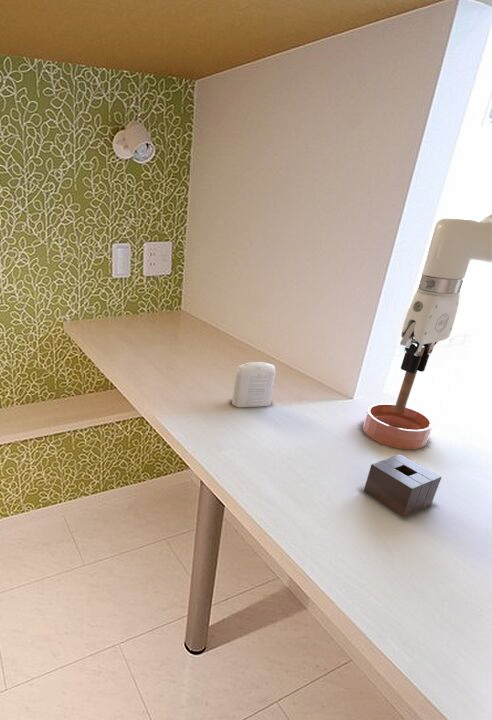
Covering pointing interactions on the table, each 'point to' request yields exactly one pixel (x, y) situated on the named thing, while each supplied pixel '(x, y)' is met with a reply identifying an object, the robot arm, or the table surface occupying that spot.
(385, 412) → the bowl
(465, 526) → the table surface
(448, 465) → the table surface
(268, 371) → the photo printer
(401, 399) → the stick
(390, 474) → the stand
